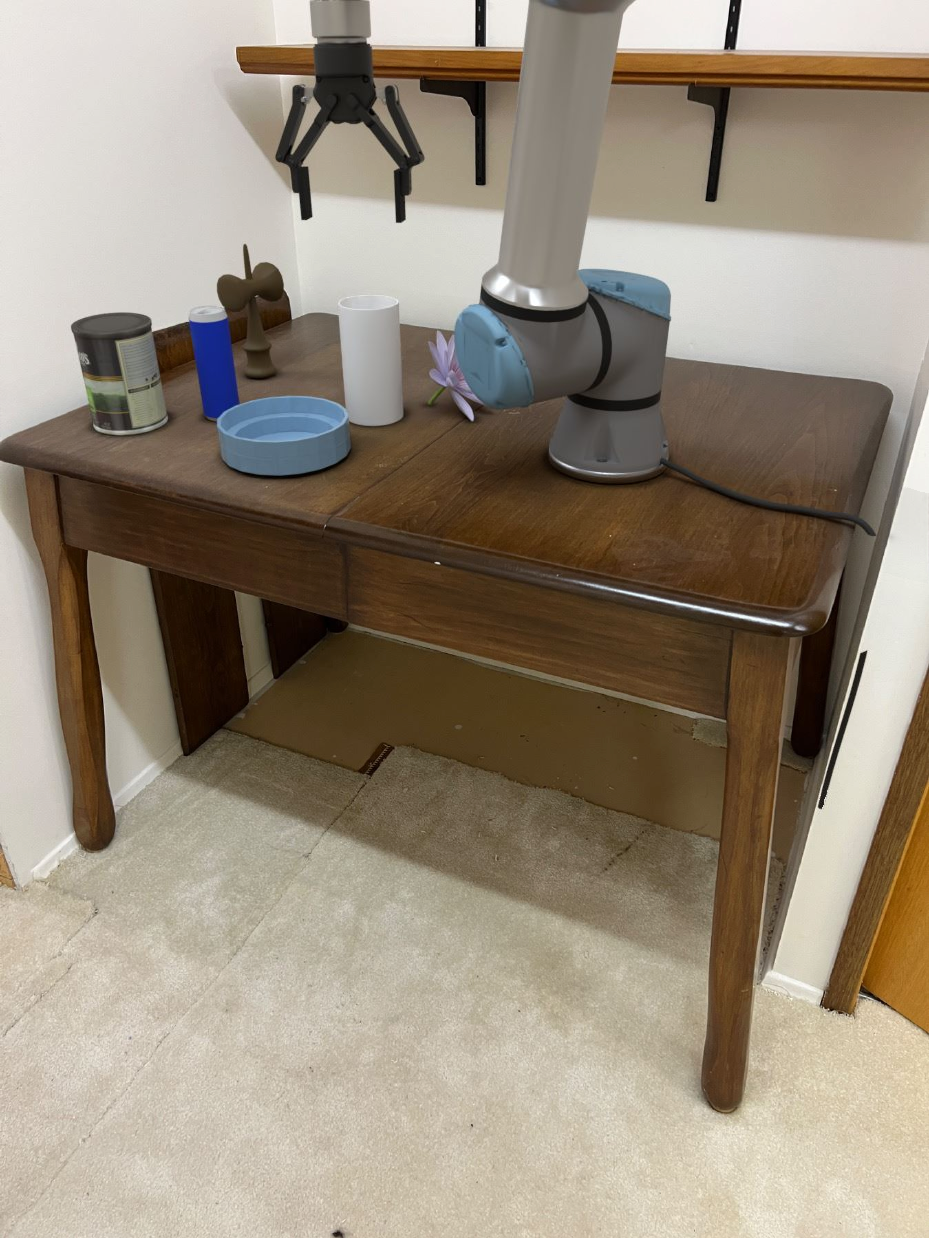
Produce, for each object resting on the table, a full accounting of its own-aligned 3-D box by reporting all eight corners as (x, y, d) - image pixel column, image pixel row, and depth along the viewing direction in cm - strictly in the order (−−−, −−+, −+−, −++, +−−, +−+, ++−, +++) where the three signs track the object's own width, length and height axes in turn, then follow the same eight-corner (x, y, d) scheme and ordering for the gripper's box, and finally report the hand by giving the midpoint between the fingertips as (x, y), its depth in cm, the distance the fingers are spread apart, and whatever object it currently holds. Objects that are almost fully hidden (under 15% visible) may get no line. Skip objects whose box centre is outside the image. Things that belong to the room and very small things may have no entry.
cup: (401, 426, 131) (396, 310, 123) (342, 426, 132) (333, 309, 123) (405, 406, 138) (401, 294, 130) (350, 405, 139) (341, 294, 130)
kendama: (294, 370, 153) (281, 240, 142) (254, 386, 146) (237, 251, 135) (266, 364, 156) (251, 236, 145) (226, 380, 149) (207, 247, 138)
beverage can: (222, 407, 138) (206, 303, 130) (248, 413, 136) (234, 308, 128) (196, 418, 134) (179, 311, 126) (223, 425, 132) (207, 317, 124)
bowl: (371, 463, 121) (369, 425, 118) (246, 490, 114) (241, 451, 111) (321, 422, 133) (318, 388, 130) (206, 445, 126) (200, 409, 123)
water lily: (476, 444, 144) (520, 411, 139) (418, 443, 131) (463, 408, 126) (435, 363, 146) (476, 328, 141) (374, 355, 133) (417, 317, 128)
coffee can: (95, 440, 127) (71, 336, 120) (92, 415, 136) (69, 316, 128) (172, 430, 130) (154, 328, 123) (165, 406, 139) (147, 309, 131)
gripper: (443, 40, 121) (446, 217, 132) (260, 41, 125) (278, 213, 136) (431, 41, 114) (435, 227, 126) (238, 42, 118) (259, 222, 130)
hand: (353, 220), depth 131 cm, fingers open, 13 cm apart
